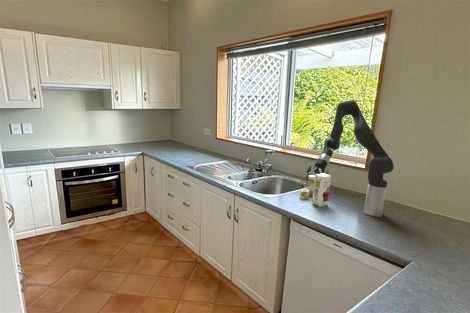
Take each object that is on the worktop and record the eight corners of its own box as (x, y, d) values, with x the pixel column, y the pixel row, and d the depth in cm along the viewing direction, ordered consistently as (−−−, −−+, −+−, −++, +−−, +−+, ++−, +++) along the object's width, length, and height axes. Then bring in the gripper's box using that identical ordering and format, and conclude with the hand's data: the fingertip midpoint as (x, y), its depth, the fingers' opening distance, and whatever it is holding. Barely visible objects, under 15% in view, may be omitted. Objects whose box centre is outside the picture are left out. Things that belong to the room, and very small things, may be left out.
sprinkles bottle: (305, 193, 180) (307, 174, 177) (312, 193, 180) (314, 174, 178) (308, 195, 175) (310, 176, 173) (314, 196, 176) (316, 176, 173)
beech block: (307, 197, 174) (308, 189, 173) (308, 199, 169) (309, 192, 168) (300, 196, 175) (300, 188, 174) (300, 198, 170) (300, 191, 169)
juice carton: (310, 203, 162) (313, 174, 158) (319, 201, 167) (322, 172, 163) (320, 208, 156) (323, 177, 152) (329, 205, 161) (333, 175, 157)
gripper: (312, 156, 186) (302, 175, 180) (331, 160, 176) (321, 180, 170) (314, 162, 191) (305, 181, 185) (333, 166, 181) (324, 186, 175)
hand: (313, 180), depth 178 cm, fingers open, 8 cm apart
